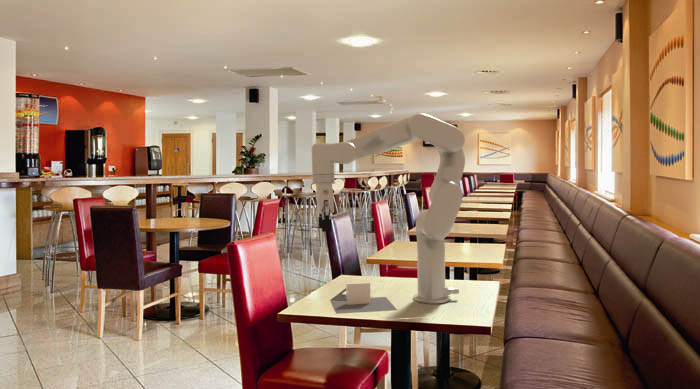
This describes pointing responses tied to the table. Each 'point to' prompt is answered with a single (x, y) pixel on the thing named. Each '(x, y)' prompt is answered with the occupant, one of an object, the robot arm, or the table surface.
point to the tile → (358, 293)
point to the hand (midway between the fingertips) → (325, 229)
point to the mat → (363, 306)
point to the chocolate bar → (340, 296)
